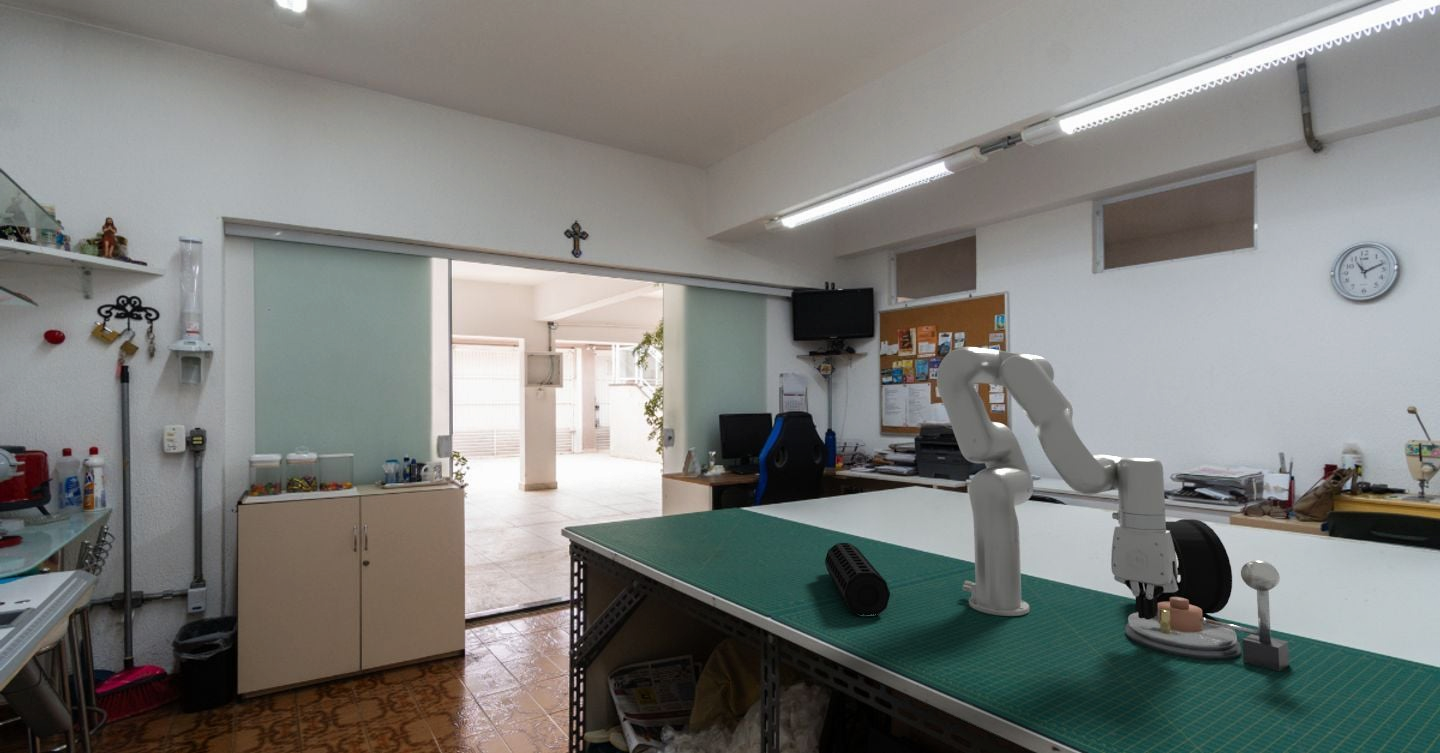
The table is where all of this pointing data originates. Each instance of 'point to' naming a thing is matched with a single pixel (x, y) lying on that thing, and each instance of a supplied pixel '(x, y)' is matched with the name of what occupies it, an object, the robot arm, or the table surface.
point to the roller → (857, 580)
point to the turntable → (1182, 633)
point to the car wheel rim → (1199, 566)
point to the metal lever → (1260, 620)
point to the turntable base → (1184, 651)
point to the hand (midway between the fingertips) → (1146, 617)
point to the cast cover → (1182, 614)
